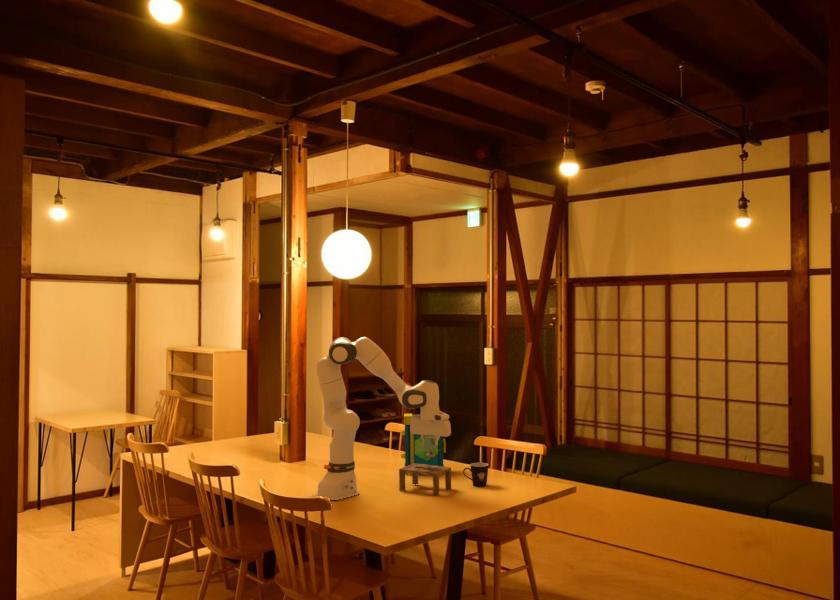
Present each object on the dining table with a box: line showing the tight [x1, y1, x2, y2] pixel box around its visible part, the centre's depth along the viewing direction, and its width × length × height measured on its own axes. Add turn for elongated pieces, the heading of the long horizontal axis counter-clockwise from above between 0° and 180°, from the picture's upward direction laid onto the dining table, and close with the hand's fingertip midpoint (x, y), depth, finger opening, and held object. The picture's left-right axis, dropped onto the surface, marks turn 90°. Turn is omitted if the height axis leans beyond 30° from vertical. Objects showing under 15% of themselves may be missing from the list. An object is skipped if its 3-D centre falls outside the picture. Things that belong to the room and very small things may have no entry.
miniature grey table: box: [398, 463, 452, 496], centre depth 318 cm, size 20×14×10 cm
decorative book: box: [400, 413, 447, 476], centre depth 353 cm, size 14×23×30 cm, turn 90°
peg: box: [423, 436, 437, 458], centre depth 317 cm, size 6×4×9 cm, turn 150°
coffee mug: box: [462, 462, 489, 488], centre depth 325 cm, size 12×9×10 cm
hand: (430, 444), depth 317 cm, fingers closed on peg, 4 cm apart
